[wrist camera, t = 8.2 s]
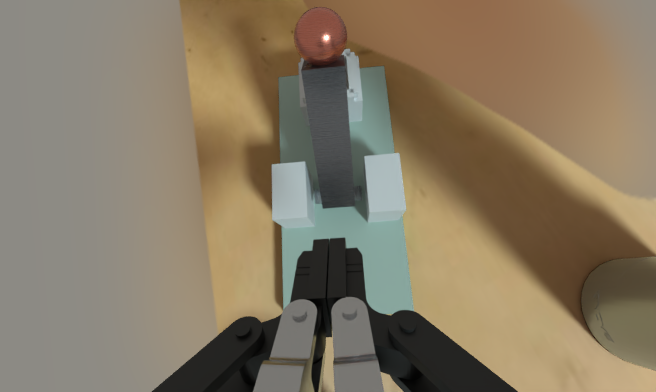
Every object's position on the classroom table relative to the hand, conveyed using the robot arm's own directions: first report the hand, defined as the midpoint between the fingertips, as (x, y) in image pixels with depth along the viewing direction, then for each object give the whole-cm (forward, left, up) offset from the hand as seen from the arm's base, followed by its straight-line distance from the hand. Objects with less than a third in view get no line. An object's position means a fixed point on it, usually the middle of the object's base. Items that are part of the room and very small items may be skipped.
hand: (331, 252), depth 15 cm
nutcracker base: (0, -8, -18) cm, 20 cm away
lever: (0, -6, -14) cm, 15 cm away
